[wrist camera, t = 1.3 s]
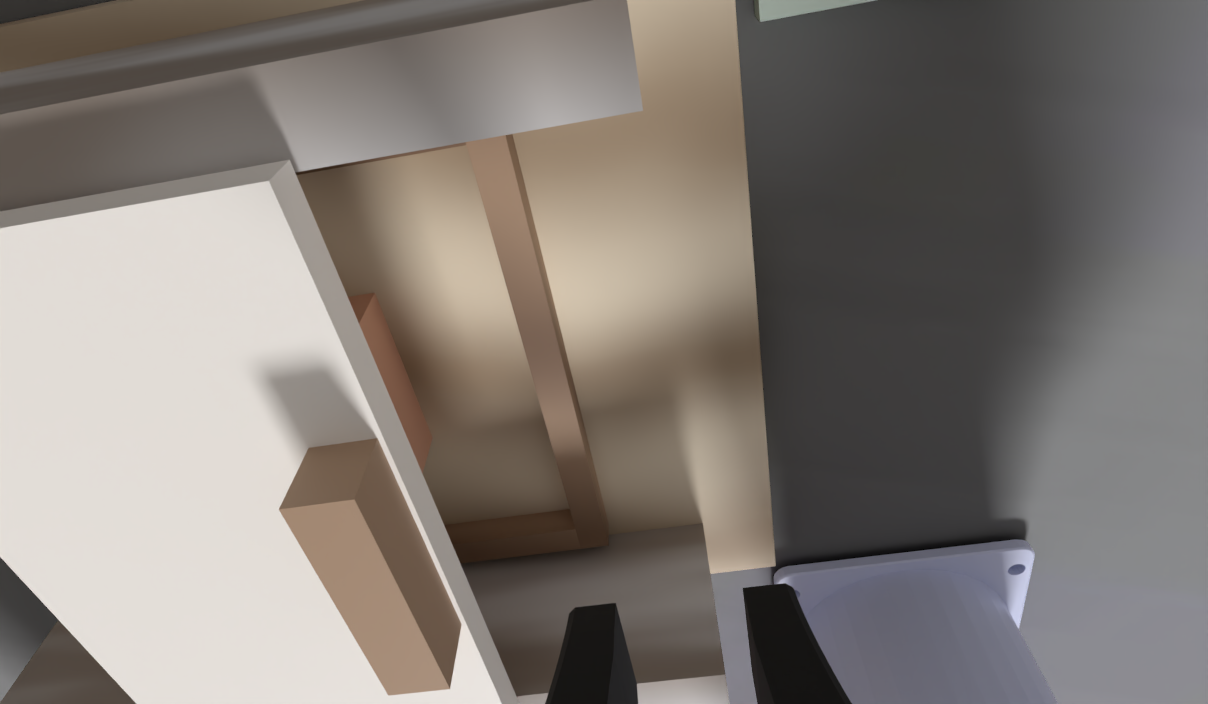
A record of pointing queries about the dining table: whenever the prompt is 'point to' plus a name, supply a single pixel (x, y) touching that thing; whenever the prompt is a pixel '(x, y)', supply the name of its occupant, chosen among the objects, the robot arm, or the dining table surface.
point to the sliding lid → (219, 458)
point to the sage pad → (796, 7)
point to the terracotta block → (393, 373)
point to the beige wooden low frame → (477, 271)
